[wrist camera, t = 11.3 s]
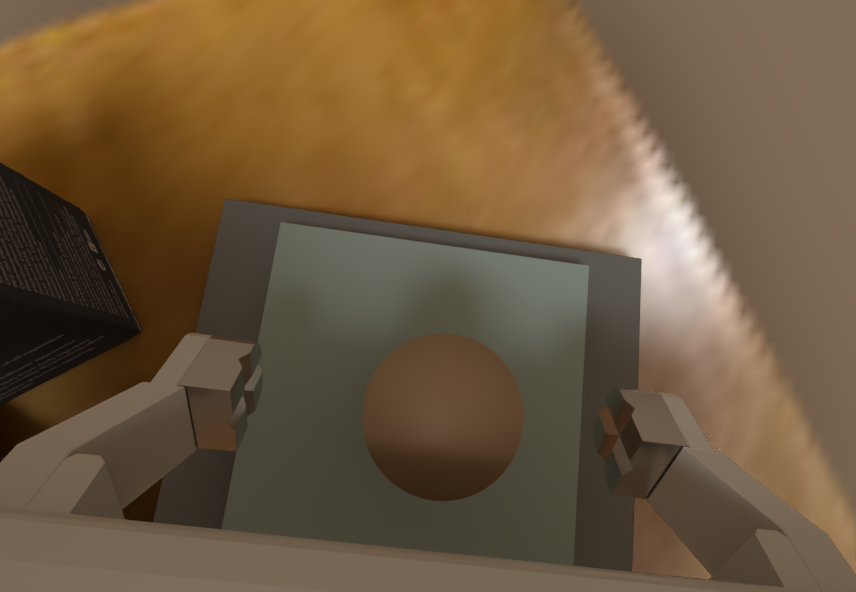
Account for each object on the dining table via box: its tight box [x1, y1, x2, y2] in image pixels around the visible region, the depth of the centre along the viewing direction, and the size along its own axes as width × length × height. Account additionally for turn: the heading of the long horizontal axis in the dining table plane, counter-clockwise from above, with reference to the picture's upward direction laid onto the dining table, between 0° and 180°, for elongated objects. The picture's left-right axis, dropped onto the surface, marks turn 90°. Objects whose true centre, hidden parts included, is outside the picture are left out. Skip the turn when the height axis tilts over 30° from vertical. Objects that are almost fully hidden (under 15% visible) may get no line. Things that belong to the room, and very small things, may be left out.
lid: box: [222, 222, 589, 566], centre depth 13 cm, size 11×11×8 cm
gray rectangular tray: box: [153, 199, 641, 572], centre depth 17 cm, size 16×13×2 cm
